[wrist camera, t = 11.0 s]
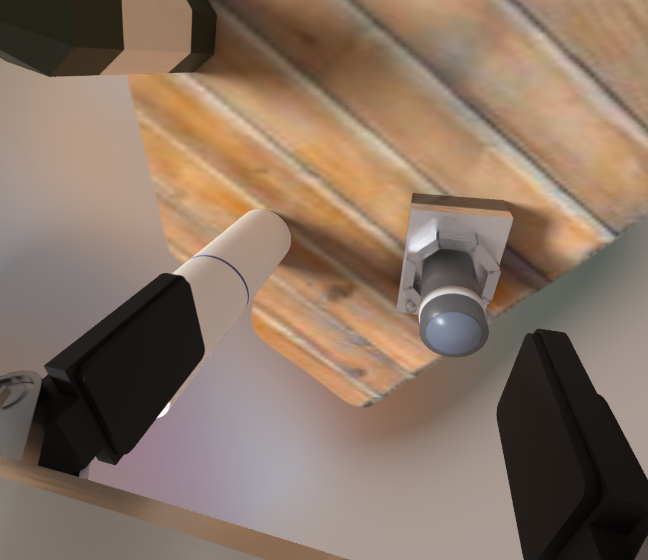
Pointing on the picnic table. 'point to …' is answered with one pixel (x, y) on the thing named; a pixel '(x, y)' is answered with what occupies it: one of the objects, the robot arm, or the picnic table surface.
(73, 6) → the wine bottle
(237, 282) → the cylindrical container
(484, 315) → the flashlight
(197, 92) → the picnic table surface
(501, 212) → the octagonal metal flange
